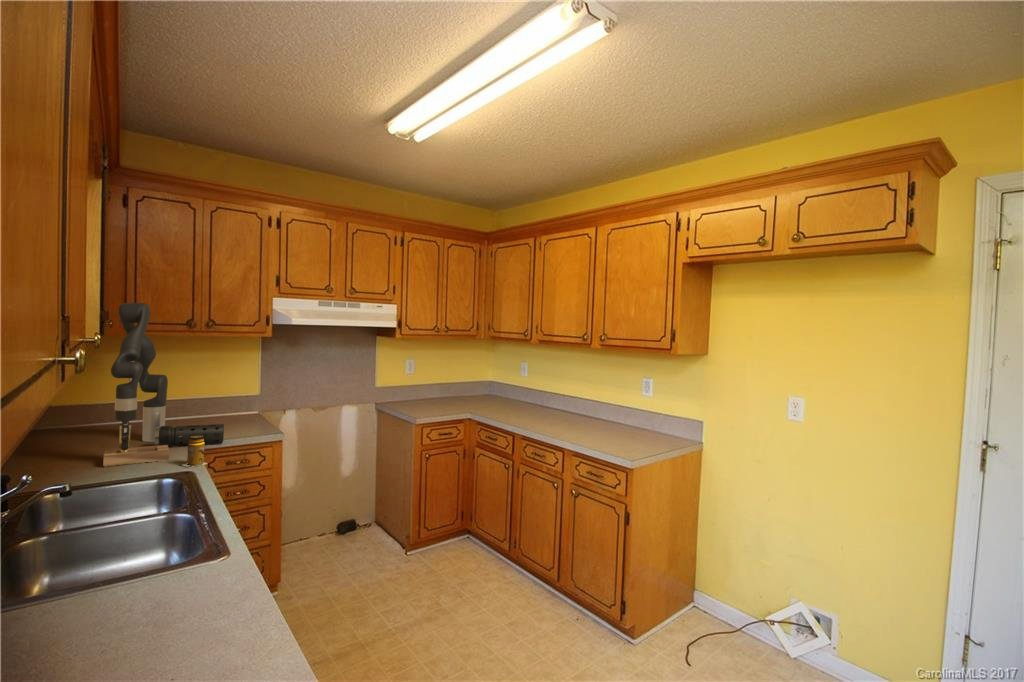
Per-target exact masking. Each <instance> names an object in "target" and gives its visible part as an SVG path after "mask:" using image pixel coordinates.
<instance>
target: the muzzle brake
mask: <svg viewBox="0 0 1024 682" xmlns="http://www.w3.org/2000/svg"><path fill="white" fill-rule="evenodd" d="M224 433H225V424H224V423H215V424H195V425H194V424H193V425H191V424H190V425H187V424H186V425H185V424H184V425H176V426H172V425H165V426H161V427H157V428H156V429H155V438H154V446H159V445H168V447H169V446H170V447H171V448H173V447H172V446H178V447H180V446H182V445H183V446H185V445H187V446H188V443H189V438H190V437H191V436H198V435H200V436H204V443H205V445H217V444H218V445H219V444H223V442H224Z"/></svg>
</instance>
